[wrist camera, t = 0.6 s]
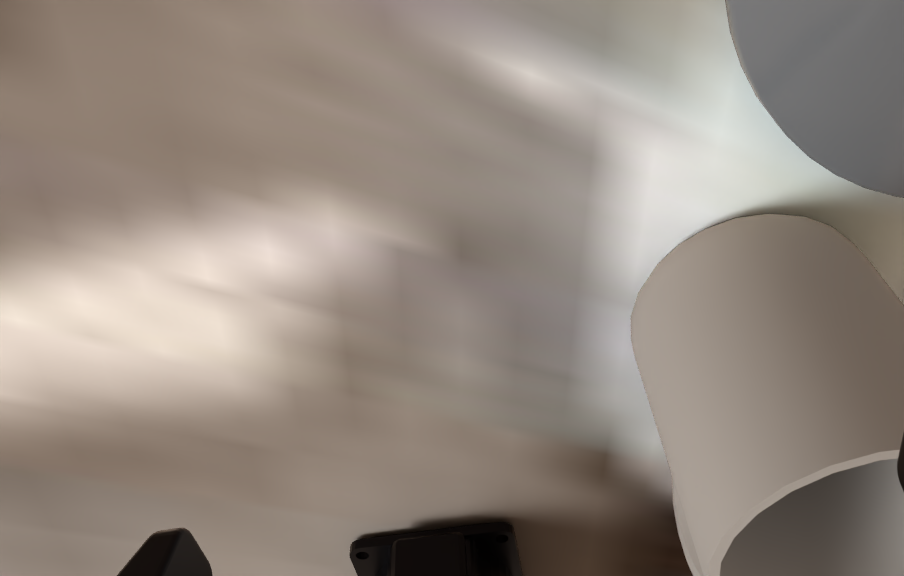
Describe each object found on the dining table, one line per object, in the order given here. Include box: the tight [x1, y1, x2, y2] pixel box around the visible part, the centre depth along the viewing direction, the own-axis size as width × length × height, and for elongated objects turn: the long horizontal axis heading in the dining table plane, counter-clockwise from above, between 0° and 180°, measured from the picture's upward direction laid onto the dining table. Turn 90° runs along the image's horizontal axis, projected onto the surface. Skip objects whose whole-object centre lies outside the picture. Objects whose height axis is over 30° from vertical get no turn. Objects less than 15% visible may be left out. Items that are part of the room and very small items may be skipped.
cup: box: [631, 214, 904, 576], centre depth 22 cm, size 7×10×9 cm
